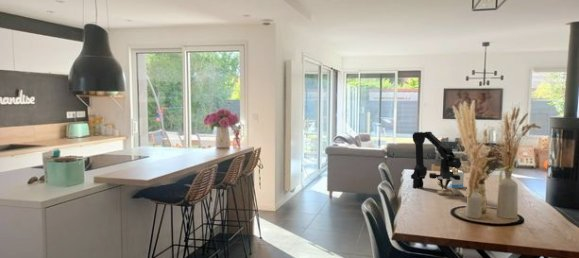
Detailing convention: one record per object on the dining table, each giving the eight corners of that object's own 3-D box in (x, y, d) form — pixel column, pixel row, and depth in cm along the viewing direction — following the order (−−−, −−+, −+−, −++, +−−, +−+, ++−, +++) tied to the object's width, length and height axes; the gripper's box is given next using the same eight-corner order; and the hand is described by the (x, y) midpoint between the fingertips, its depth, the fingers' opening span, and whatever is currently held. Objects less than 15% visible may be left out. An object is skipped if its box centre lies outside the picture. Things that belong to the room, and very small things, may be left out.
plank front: (438, 194, 267) (438, 192, 267) (437, 192, 274) (437, 190, 274) (452, 195, 265) (453, 193, 265) (451, 193, 272) (451, 191, 272)
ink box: (463, 188, 288) (464, 169, 287) (451, 188, 288) (452, 169, 287) (458, 185, 297) (459, 167, 295) (447, 185, 297) (448, 167, 296)
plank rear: (438, 185, 277) (439, 183, 277) (437, 182, 284) (438, 181, 283) (450, 192, 276) (451, 190, 275) (448, 189, 282) (449, 188, 282)
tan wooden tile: (454, 196, 265) (454, 194, 265) (449, 189, 283) (449, 188, 283) (463, 196, 264) (463, 195, 264) (458, 190, 282) (458, 188, 281)
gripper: (431, 167, 261) (430, 191, 263) (462, 168, 257) (461, 192, 259) (429, 164, 272) (428, 187, 274) (459, 165, 268) (457, 189, 270)
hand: (443, 189), depth 269 cm, fingers closed
